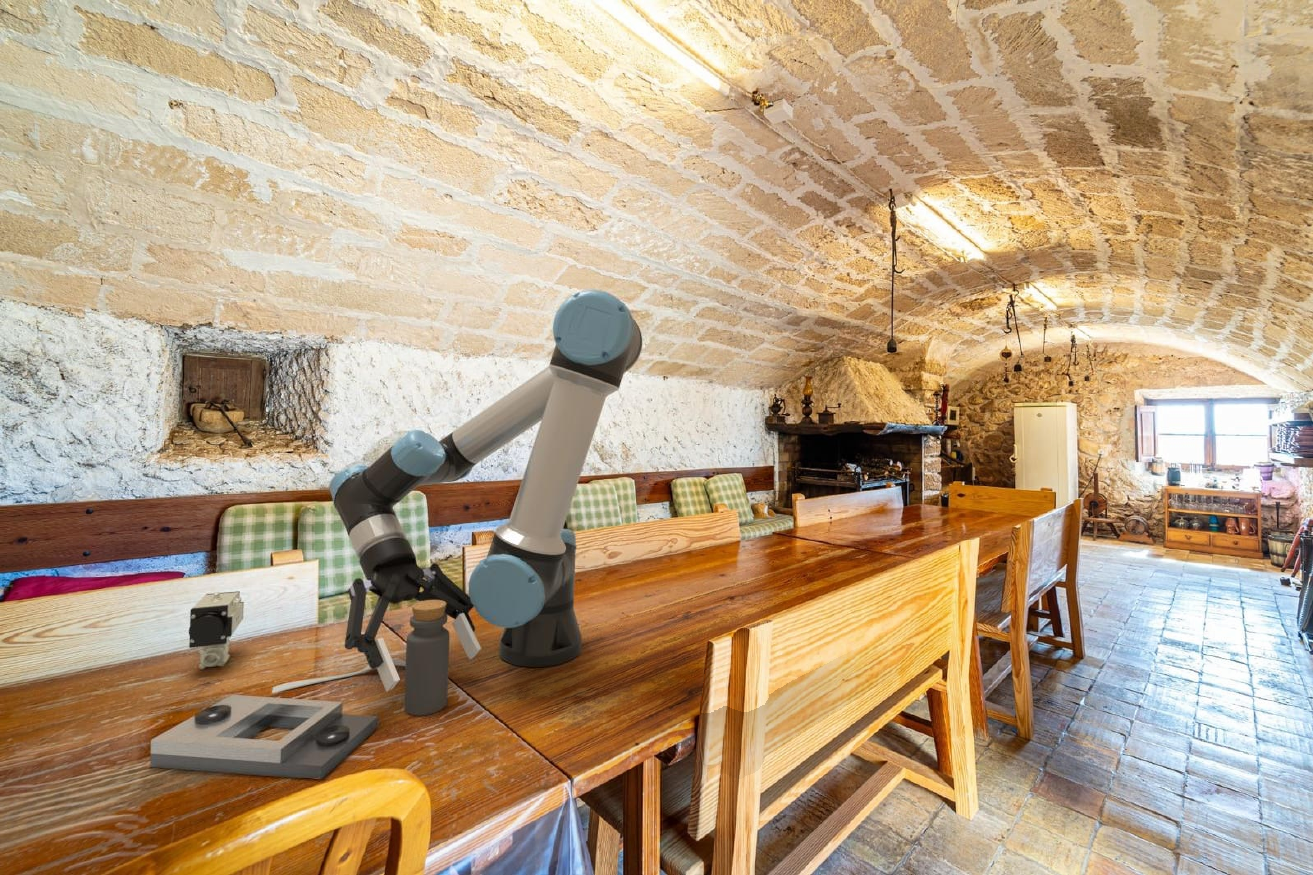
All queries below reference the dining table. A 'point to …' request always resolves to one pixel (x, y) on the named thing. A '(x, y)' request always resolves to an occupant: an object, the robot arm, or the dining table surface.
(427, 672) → the bottle
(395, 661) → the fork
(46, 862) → the dining table surface
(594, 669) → the dining table surface
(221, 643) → the pneumatic valve
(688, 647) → the dining table surface
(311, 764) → the grey slotted fixture base
